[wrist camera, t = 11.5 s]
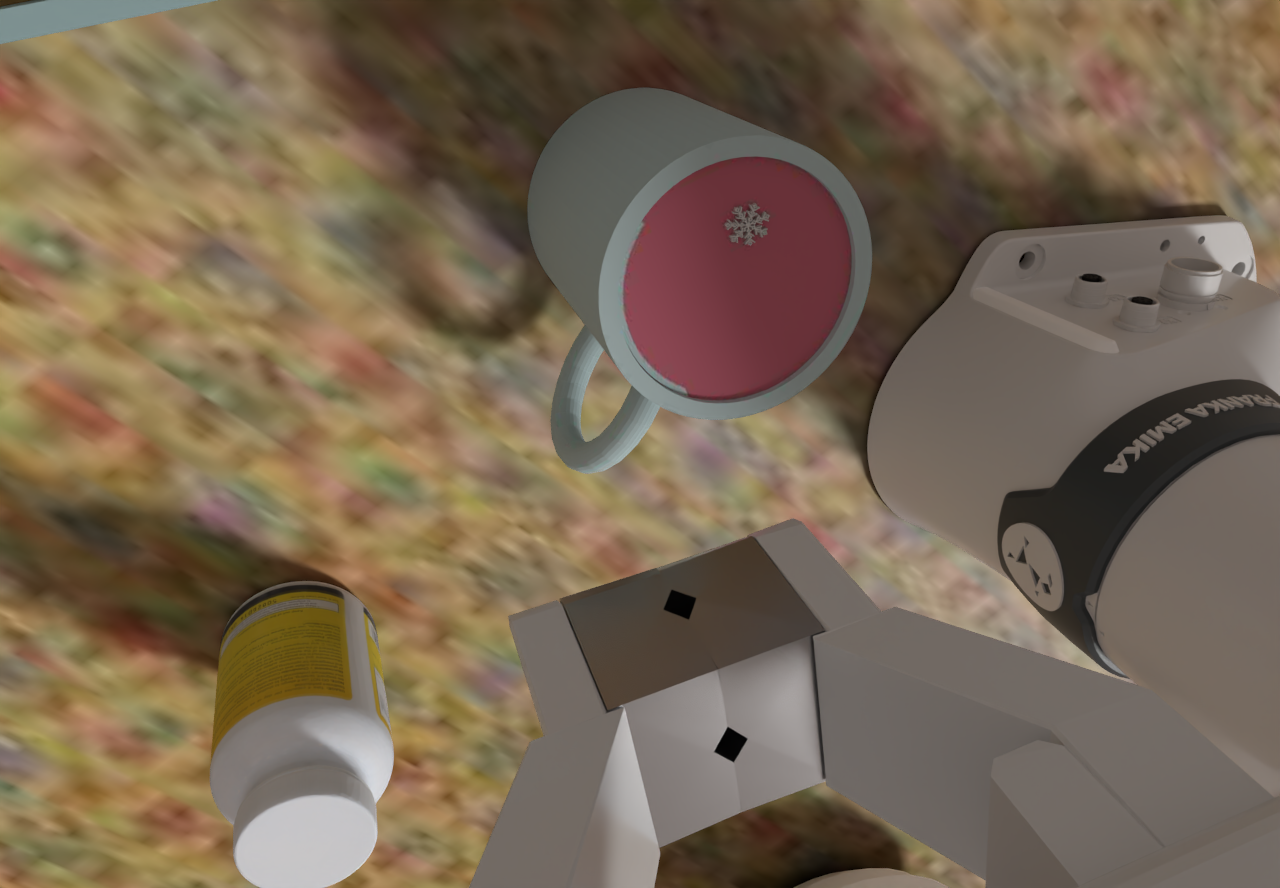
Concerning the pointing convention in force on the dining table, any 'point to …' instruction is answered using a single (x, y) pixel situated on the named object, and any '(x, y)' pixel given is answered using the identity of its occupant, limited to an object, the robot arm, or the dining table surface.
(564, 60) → the dining table surface
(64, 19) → the tray
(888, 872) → the bowl
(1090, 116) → the dining table surface
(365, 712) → the pill bottle
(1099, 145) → the dining table surface
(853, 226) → the mug
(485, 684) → the dining table surface
